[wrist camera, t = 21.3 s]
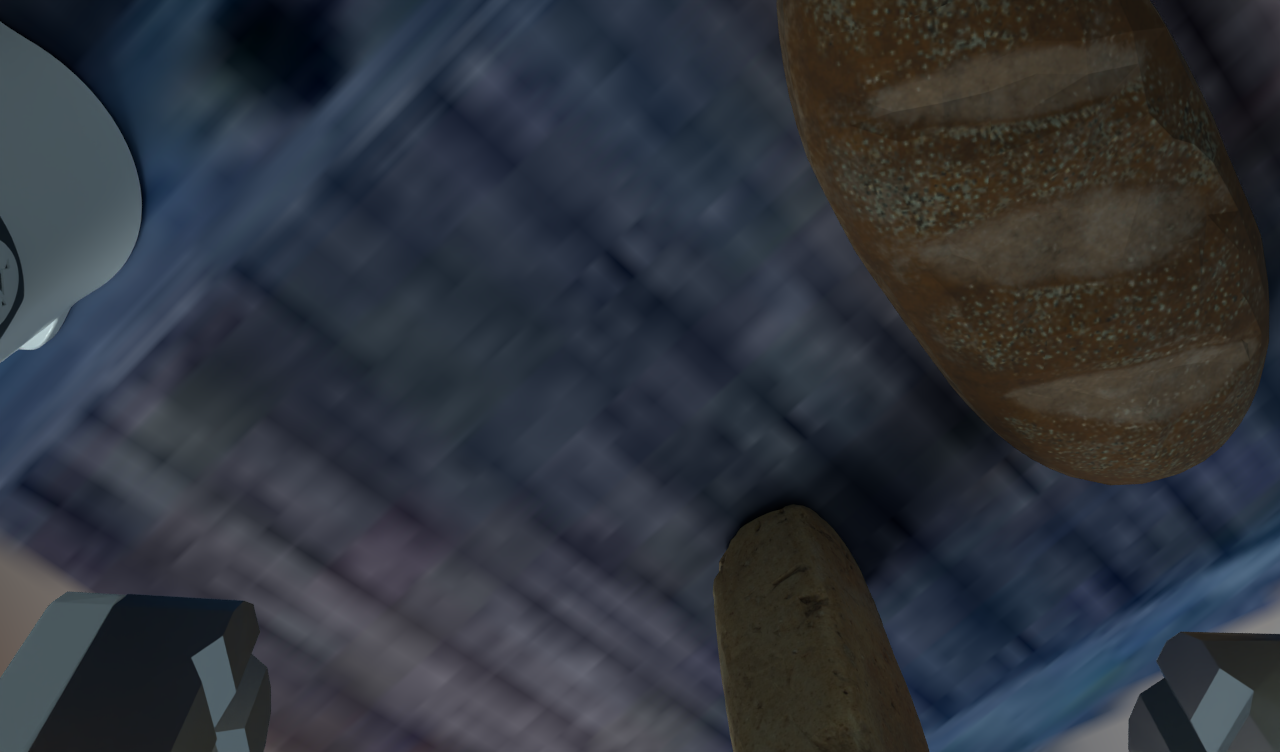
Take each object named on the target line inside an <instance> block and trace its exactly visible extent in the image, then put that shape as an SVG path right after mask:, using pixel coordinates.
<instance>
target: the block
mask: <svg viewBox="0 0 1280 752" xmlns="http://www.w3.org/2000/svg"><path fill="white" fill-rule="evenodd" d="M713 595H714V610H715V620H716V630H717V641H718V650H719V659H720V668H721V677H722V683H723V690H724V695H725V704H726V711H727V716H728V722H729V730H730V736H731V742H732V747H733V751H734V752H929V749H928V745H927V742H926V739H925V736H924V733H923V729H922V726H921V723H920V720H919V718H918V715H917V713H916V710H915V707H914V704H913V701H912V698H911V696H910V693H909V691H908V688H907V685H906V683H905V680H904V678H903V675H902V673H901V671H900V668H899V666H898V664H897V661H896V659H895V657H894V654H893V651H892V648H891V646H890V643H889V640H888V638H887V635H886V632H885V630H884V628H883V624H882V621H881V618H880V616H879V613H878V611H877V608H876V605H875V602H874V600H873V598H872V596H871V593H870V592H869V589H868V587H867V584H866V582H865V580H864V577H863V575H862V573H861V571H860V569H859V567H858V565H857V563H856V561H855V559H854V558H853V556H852V554H851V553H850V551H849V549H848V548H847V546H846V545H845V543H844V542H843V541H842V539H841V538H840V537H839V535H838V534H837V533H836V532H835V530H834V529H833V528H832V527H831V526H830V525H829V524H828V523H827V522H826V521H825V520H823V519H822V518H821V517H820V516H819V515H818V514H817V513H816V512H814V511H813V510H811V509H810V508H807V507H805V506H802V505H793V504H792V505H789V506H785V507H784V508H783V509H780V510H776V511H772V512H769V513H767V514H764V515H762V516H760V517H758V518H756V519H754V520H753V521H751V522H749V523H747V524H746V525H744V526H743V527H742V528H740V529H739V531H738V532H737V534H736V536H735V537H734V538H733V539H732V540H731V542H730V544H729V547H728V549H727V551H726V552H725V553H724V555H723V557H722V558H721V560H720V562H719V573H718V575H717V576H716V578H715V579H714V585H713Z"/></svg>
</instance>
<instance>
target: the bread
mask: <svg viewBox="0 0 1280 752" xmlns="http://www.w3.org/2000/svg"><path fill="white" fill-rule="evenodd" d="M777 16H778V27H779V38H780V45H781V52H782V58H783V65H784V71H785V76H786V82H787V87H788V92H789V97H790V101H791V105H792V109H793V113H794V117H795V121H796V125H797V128H798V131H799V134H800V137H801V140H802V143H803V146H804V149H805V152H806V156H807V158H808V160H809V162H810V165H811V167H812V169H813V171H814V173H815V175H816V177H817V179H818V181H819V183H820V185H821V187H822V189H823V191H824V193H825V195H826V197H827V199H828V201H829V203H830V205H831V207H832V209H833V211H834V213H835V214H836V216H837V218H838V220H839V222H840V224H841V226H842V228H843V230H844V231H845V233H846V235H847V237H848V239H849V241H850V243H851V244H852V246H853V248H854V250H855V252H856V253H857V255H858V256H859V258H860V259H861V261H862V262H863V264H864V265H865V267H866V268H867V270H868V271H869V273H870V274H871V276H872V277H873V278H874V280H875V281H876V283H877V284H878V285H879V287H880V288H881V289H882V291H883V292H884V294H885V295H886V296H887V298H888V299H889V300H890V302H891V303H892V305H893V306H894V308H895V309H896V311H897V312H898V313H899V315H900V316H901V318H902V319H903V321H904V322H905V324H906V325H907V326H908V328H909V329H910V331H911V332H912V333H913V335H914V336H915V337H916V339H917V340H918V342H919V343H920V344H921V346H922V347H923V348H924V350H925V351H926V352H927V354H928V355H929V356H930V358H931V359H932V361H933V362H934V363H935V365H936V366H937V367H938V369H939V370H940V371H941V373H942V374H943V375H944V377H945V378H946V379H947V381H948V382H949V383H950V385H951V386H952V388H953V389H954V390H955V391H956V392H957V393H958V394H959V396H960V397H961V398H962V399H963V400H964V401H965V403H966V404H967V405H968V406H969V407H970V408H971V409H972V410H973V411H974V412H975V413H976V414H977V415H978V416H979V417H980V418H981V419H982V420H983V421H984V422H985V423H986V424H987V425H988V426H989V427H990V428H991V429H992V430H994V431H995V432H996V433H997V434H998V435H999V436H1000V437H1002V438H1003V439H1004V440H1006V441H1007V442H1008V443H1009V444H1011V445H1012V446H1013V447H1015V448H1016V449H1018V450H1019V451H1021V452H1022V453H1024V454H1025V455H1027V456H1028V457H1030V458H1031V459H1033V460H1035V461H1037V462H1039V463H1040V464H1042V465H1044V466H1046V467H1048V468H1050V469H1052V470H1055V471H1058V472H1060V473H1063V474H1065V475H1068V476H1070V477H1075V478H1079V479H1084V480H1089V481H1094V482H1098V483H1103V484H1107V485H1125V484H1143V483H1147V482H1151V481H1155V480H1159V479H1162V478H1166V477H1169V476H1173V475H1176V474H1179V473H1182V472H1184V471H1186V470H1188V469H1189V468H1191V467H1193V466H1195V465H1197V464H1199V463H1201V462H1203V461H1205V460H1206V459H1207V458H1208V457H1210V456H1211V455H1212V454H1213V453H1215V452H1216V451H1217V450H1218V449H1219V448H1220V447H1221V446H1222V445H1223V444H1224V443H1225V442H1226V441H1227V440H1228V439H1229V437H1230V436H1231V435H1232V434H1233V432H1234V431H1235V430H1236V428H1237V427H1238V426H1239V425H1240V423H1241V422H1242V420H1243V418H1244V416H1245V414H1246V413H1247V411H1248V409H1249V407H1250V405H1251V403H1252V401H1253V398H1254V396H1255V393H1256V391H1257V388H1258V386H1259V382H1260V378H1261V374H1262V370H1263V366H1264V362H1265V357H1266V353H1267V348H1268V343H1269V291H1268V278H1267V272H1266V265H1265V258H1264V251H1263V245H1262V239H1261V234H1260V232H1259V229H1258V227H1257V224H1256V222H1255V219H1254V216H1253V214H1252V211H1251V209H1250V207H1249V204H1248V202H1247V199H1246V197H1245V194H1244V192H1243V189H1242V187H1241V185H1240V182H1239V180H1238V178H1237V175H1236V173H1235V170H1234V168H1233V166H1232V163H1231V161H1230V159H1229V156H1228V154H1227V152H1226V149H1225V147H1224V144H1223V142H1222V139H1221V136H1220V134H1219V131H1218V128H1217V126H1216V123H1215V120H1214V118H1213V116H1212V114H1211V112H1210V110H1209V108H1208V105H1207V103H1206V101H1205V99H1204V97H1203V95H1202V93H1201V91H1200V89H1199V87H1198V85H1197V83H1196V81H1195V79H1194V77H1193V75H1192V73H1191V71H1190V69H1189V67H1188V65H1187V63H1186V61H1185V59H1184V58H1183V56H1182V54H1181V52H1180V50H1179V48H1178V46H1177V44H1176V43H1175V41H1174V39H1173V37H1172V35H1171V34H1170V32H1169V30H1168V28H1167V27H1166V25H1165V23H1164V21H1163V20H1162V18H1161V16H1160V14H1159V13H1158V11H1157V10H1156V9H1155V7H1154V6H1153V4H1152V3H1151V2H1150V0H777Z"/></svg>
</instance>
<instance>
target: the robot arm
mask: <svg viewBox="0 0 1280 752" xmlns="http://www.w3.org/2000/svg"><path fill="white" fill-rule="evenodd" d="M141 214H142V198H141V189H140V183H139V178H138V174H137V170H136V167H135V164H134V161H133V158H132V155H131V153H130V150H129V148H128V146H127V144H126V142H125V140H124V137H123V135H122V134H121V132H120V130H119V128H118V127H117V125H116V123H115V122H114V120H113V119H112V117H111V116H110V114H109V113H108V111H107V110H106V109H105V107H104V106H103V105H102V103H101V102H100V101H99V100H98V98H97V97H96V96H95V95H94V94H93V92H92V91H91V90H90V89H89V88H88V87H87V86H86V85H85V84H84V83H83V82H82V81H81V80H80V79H79V78H78V77H77V76H76V75H75V74H74V73H73V72H72V71H71V70H69V69H68V68H67V67H66V66H65V65H64V64H62V63H61V62H60V61H59V60H57V59H56V58H55V57H53V56H52V55H51V54H49V53H48V52H46V51H45V50H43V49H42V48H41V47H39V46H37V45H36V44H34V43H33V42H31V41H29V40H28V39H26V38H25V37H23V36H21V35H20V34H18V33H16V32H15V31H13V30H12V29H10V28H9V27H7V26H6V25H4V24H3V23H1V22H0V363H1V362H2V361H3V360H5V359H6V358H7V357H8V356H10V355H11V354H12V353H14V352H15V351H16V350H18V349H24V350H33V349H37V348H39V347H41V346H42V345H44V344H45V343H46V342H48V341H49V340H50V339H52V338H53V337H54V336H55V335H56V333H57V332H58V331H59V329H60V328H61V326H62V324H63V322H64V320H65V318H66V317H67V314H68V312H69V310H70V308H71V307H72V306H73V305H74V304H75V303H76V302H77V301H79V300H80V299H82V298H83V297H85V296H87V295H88V294H90V293H91V292H93V291H94V290H96V289H98V288H99V287H101V286H102V285H104V284H105V283H106V282H108V281H109V280H110V279H111V278H112V277H113V276H114V275H115V274H116V273H117V272H118V271H119V270H120V269H121V268H122V266H123V265H124V264H125V262H126V261H127V259H128V258H129V256H130V254H131V252H132V250H133V248H134V246H135V243H136V240H137V237H138V233H139V229H140V223H141ZM259 633H260V630H259V626H258V622H257V618H256V614H255V609H254V605H253V604H251V603H248V602H245V601H237V600H220V599H203V598H186V597H169V596H152V595H135V594H127V595H118V594H100V593H83V592H66V593H65V594H63V595H62V596H60V597H59V598H58V599H56V600H55V601H53V602H52V603H51V604H50V605H49V606H48V607H47V609H46V610H45V612H44V613H43V615H42V616H41V618H40V619H39V621H38V622H37V624H36V625H35V627H34V628H33V630H32V631H31V633H30V634H29V636H28V637H27V639H26V640H25V642H24V643H23V645H22V646H21V648H20V649H19V651H18V653H17V654H16V655H15V657H14V658H13V660H12V661H11V663H10V664H9V666H8V667H7V669H6V670H5V672H4V673H3V675H2V676H1V678H0V752H263V751H264V748H265V744H266V738H267V732H268V726H269V720H270V714H271V686H270V681H269V675H268V669H267V667H266V666H265V665H264V664H263V663H262V662H260V661H259V660H258V659H257V658H256V657H255V656H253V655H252V654H251V653H252V651H253V648H254V645H255V643H256V640H257V638H258V635H259ZM1157 663H1158V665H1159V668H1160V670H1161V672H1162V674H1163V676H1164V679H1162V680H1161V681H1159V682H1157V683H1156V684H1154V685H1153V686H1151V687H1150V688H1148V689H1147V690H1145V691H1144V692H1142V693H1141V694H1140V695H1139V697H1138V699H1137V701H1136V704H1135V706H1134V708H1133V711H1132V713H1131V715H1130V718H1129V729H1128V749H1129V752H1280V634H1252V633H1209V632H1180V633H1178V634H1177V635H1175V636H1174V637H1172V638H1171V639H1169V640H1168V641H1167V642H1166V644H1165V645H1164V647H1163V649H1162V651H1161V653H1160V655H1159V657H1158V659H1157Z"/></svg>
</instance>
